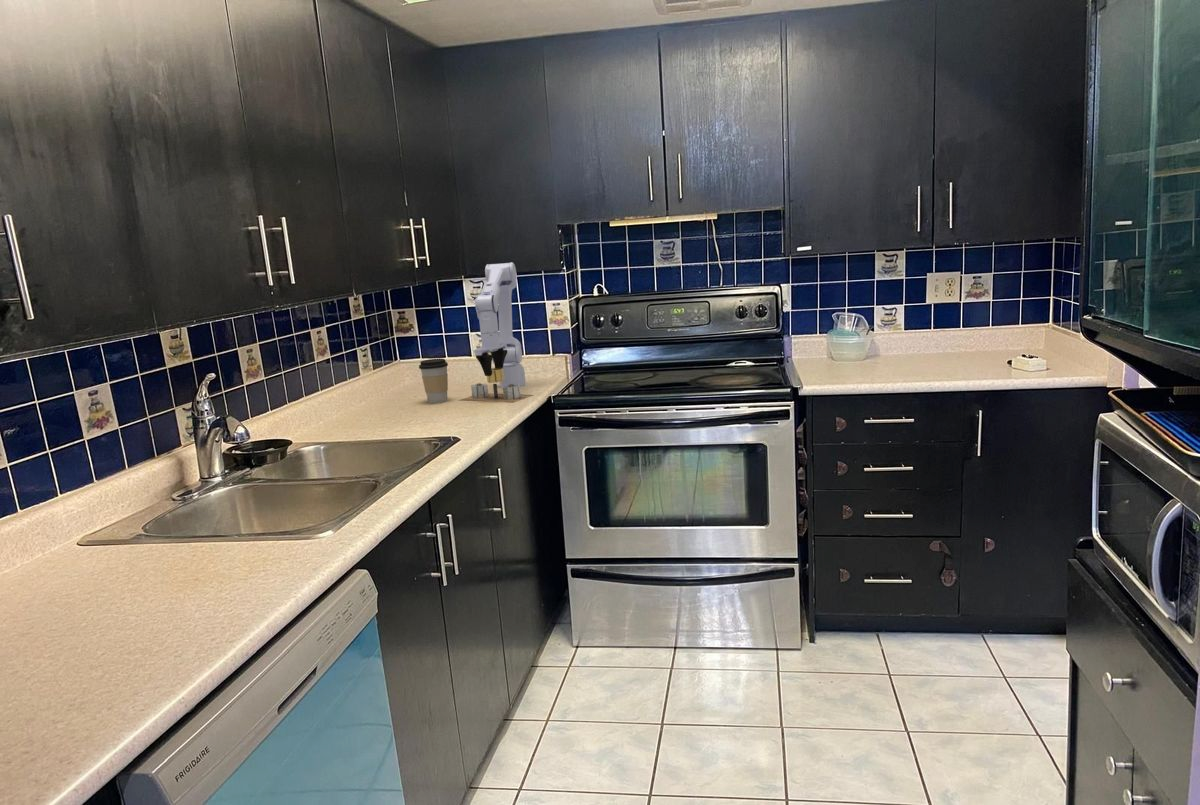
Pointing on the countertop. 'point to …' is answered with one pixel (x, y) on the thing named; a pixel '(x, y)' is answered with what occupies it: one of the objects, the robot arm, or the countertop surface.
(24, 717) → the countertop surface
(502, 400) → the gear board
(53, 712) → the countertop surface
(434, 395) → the coffee cup
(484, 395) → the steel gear
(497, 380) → the brass gear
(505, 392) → the steel gear
